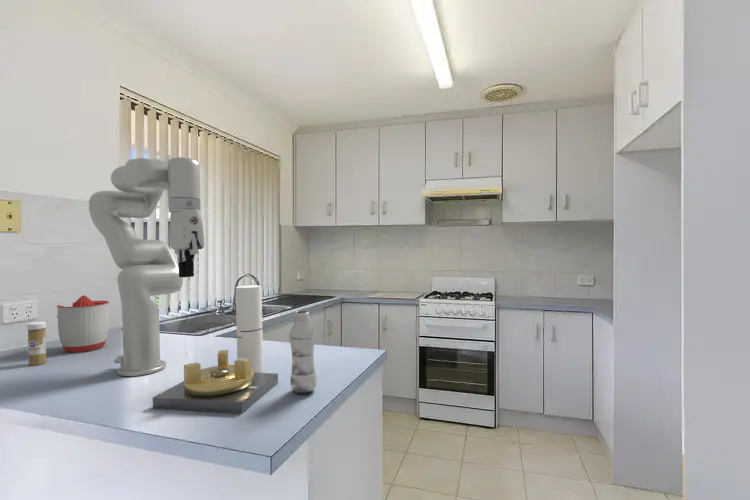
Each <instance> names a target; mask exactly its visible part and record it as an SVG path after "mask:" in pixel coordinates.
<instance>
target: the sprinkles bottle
mask: <svg viewBox="0 0 750 500" xmlns="http://www.w3.org/2000/svg"><path fill="white" fill-rule="evenodd" d="M46 328H47V323H46V321H34V322H33V321H32V322H28V323H27V326H26V330H27V338H28V339H27V343H28V345H27V352H28V353H27V354H28V364H27V365H28V366H40V365H44V364H46V363H47V361H48V360H47V336H46Z"/></svg>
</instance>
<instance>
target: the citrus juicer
mask: <svg viewBox="0 0 750 500" xmlns="http://www.w3.org/2000/svg"><path fill="white" fill-rule="evenodd" d="M109 303H110V301H109V300H92V299H90V298H89V297H88V296H86V295H84V294H83V295H81V296H79V298H78V299H76V301H75V302H72V306H64V305H60V304H58V305H56V307H57V315H56V318H57V330H58V332H57V333H58V337H59V340H60V343H61V347H62V349H63V350H64V352H67V353H79V352H81V353H87V352H89V351H93V350H96V349H97V350H98V349H100V348H101V349H102V348H103V347H104V346H105V344H106V342H107V339H108V335H109V330H110V319H109V318H110V315H109V309H110V308H109Z"/></svg>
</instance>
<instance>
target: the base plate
mask: <svg viewBox="0 0 750 500" xmlns="http://www.w3.org/2000/svg"><path fill="white" fill-rule="evenodd" d="M278 383H279V374H278V373H269V372H261V373H254V381H253V383H252V384H251V385H249V386H248V387H246V388H244V389H241V390H238V391H235V392H232V393H227V394H222V395H215V396H196V395H191V394H188V393H186V392H185V390H184V380H183V381H181V382H179V383H177V384H176V385H174V386H172V387H170V388H168V389H166V390H164V391H162V392H161V393H158V394H157V395H155V396H153V397H152V409H154V410H155V409H156V410H170V411H171V410H172V411H190V412H206V413H207V412H208V413H209V412H210V413H227V414H244V413H245V412H246V411H247V410H248V409H249V408H251V407H252V406H253V405H254V404H256V402H258V401H259V400H261V398H262V397H264V396H265V395H266V394H267V393H268V392H270V390H272V389H273V388H274V387H276V385H278Z"/></svg>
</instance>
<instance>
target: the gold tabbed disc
mask: <svg viewBox="0 0 750 500" xmlns="http://www.w3.org/2000/svg"><path fill="white" fill-rule="evenodd" d="M233 363H234V364H229V350H228V349H225V350H224V349H223V350H221V349H220V350H218V352H217V365H216V366H215V365H214V366H210V367H205V368H201V367H202V366H201V363H199V362H192V363H187V364H184V365H183V379H184V380H183V381H184V390H185V392H186V393H188V394H191V395H196V396H215V395H222V394H227V393H232V392H235V391H238V390H241V389H244V388H246V387H248V386H249V385H251V384H252V383H253V381H254V370H253V369H252V368H251V361H250V359H249V358H238V359H237V358H236V360H234V362H233Z"/></svg>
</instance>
